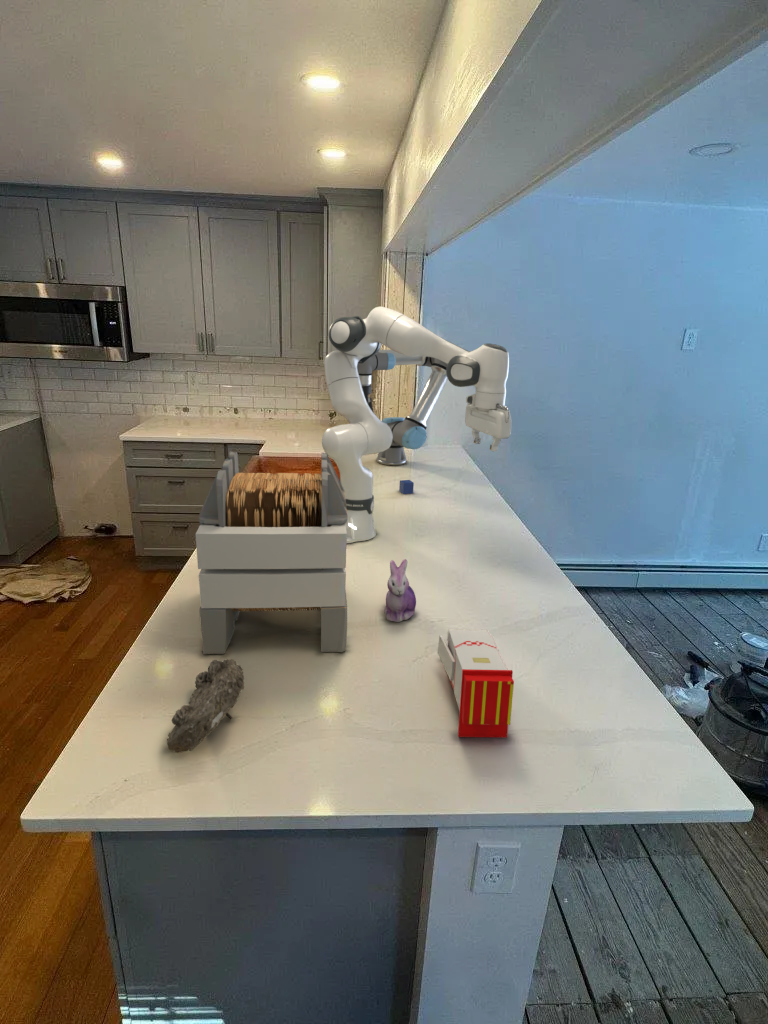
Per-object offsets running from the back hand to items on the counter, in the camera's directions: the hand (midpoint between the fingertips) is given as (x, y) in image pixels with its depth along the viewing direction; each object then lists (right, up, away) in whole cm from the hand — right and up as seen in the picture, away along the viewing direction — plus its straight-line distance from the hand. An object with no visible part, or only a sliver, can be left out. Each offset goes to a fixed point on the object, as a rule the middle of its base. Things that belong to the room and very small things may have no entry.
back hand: (362, 431), depth 261 cm
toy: (+28, -75, -142) cm, 163 cm away
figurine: (+14, -64, -113) cm, 131 cm away
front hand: (+41, -17, -88) cm, 99 cm away
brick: (+19, -29, -15) cm, 38 cm away
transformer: (-17, -64, -117) cm, 134 cm away
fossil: (-23, -76, -153) cm, 172 cm away
